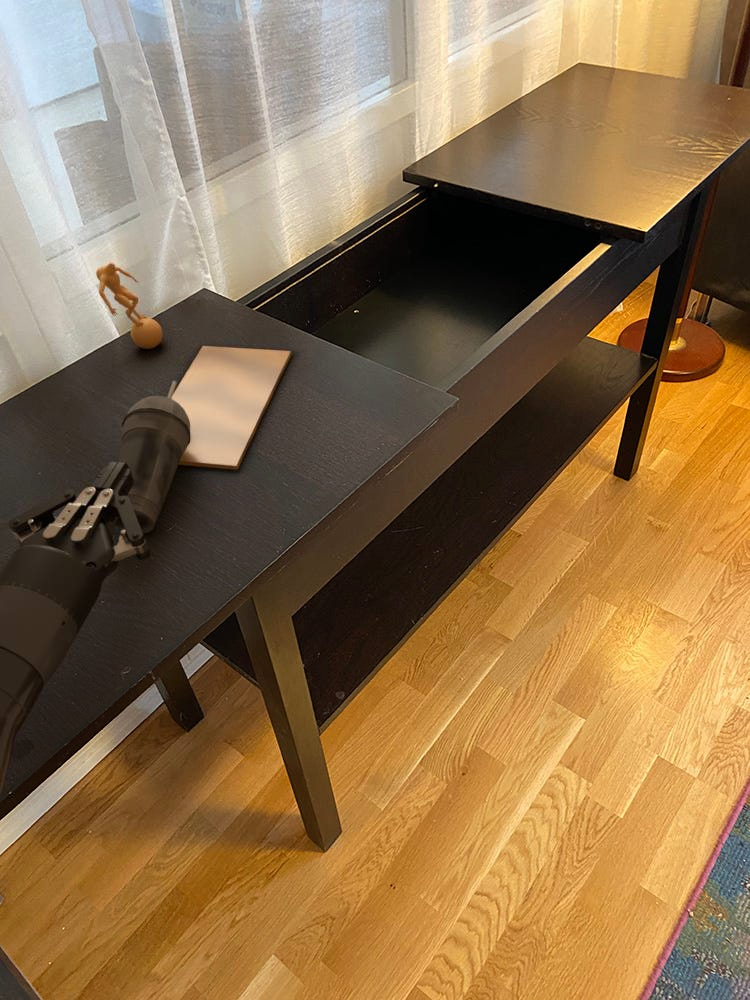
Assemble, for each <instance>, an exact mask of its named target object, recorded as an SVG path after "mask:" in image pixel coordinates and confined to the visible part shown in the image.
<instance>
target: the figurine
mask: <svg viewBox="0 0 750 1000" xmlns="http://www.w3.org/2000/svg"><path fill="white" fill-rule="evenodd" d="M118 272H119V273H120V274H122V275H123V276H126V277H128V278H130V279H132V280H133V281H134V282H135V283H137V284H138V283H139V281H138V280H137V278H135V277H134V276H133V275H131V274H130V273H129V272H127V271H125V270H123V269H122V268H121V267H119V266H116V264H115V263H114V262H109V263H108V264H107V265H104V266H100V267H98V268H97V270H96V272H95V275H96V278H97V279H98V281H99V288H98V294H99V296H100V297H101V299H102V300H103V302H104V303H105V305H106V307H108V310H109V313H110V314H111V315H112V316H113V317H115V316H116V317H117V315H118V313H117V309H116V308H114V307H112V305H111V302H110V301H109V299H108V298H107V295H106V294H105V288H108V289H109V290H110V291H111V293H112V294H113V299H114V301H115V302H116V303H118V304H119V305H121V306H123V308H126V310H125V315H126V316H127V318H128V319H129V320H130V321H131V322H132V323H133V324H132V326H131V328H130V337H131V339H132V341H133V343H134V344H135V345H136V346H138V347H139V348H141V349H145V350H151V349H154V348H156V347H158V346H159V345H160V343H161V342H162V339H163V329H162V326H161V325H160V323H158V321H156V320H155V319H153V318H150V317H147V316H146V315H143V314H140V313H139V312H138V311H137V310H136V309H135V308H136V307H137V305H138V303H139V298H138V296H137V295H135V294H133V293H132V292H131V291H130V290H128V288H127V287H126V286H125V285H123V284H122V285H121V277H120V275H119V273H118ZM131 301H132V302H131ZM132 314H134V316H135V317H137V319H136V318H135V317H134V316H132Z"/></svg>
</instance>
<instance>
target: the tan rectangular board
mask: <svg viewBox="0 0 750 1000" xmlns="http://www.w3.org/2000/svg"><path fill="white" fill-rule="evenodd" d="M291 357H292V351H291V350H280V349H279V350H278V349H263V348H246V347H245V348H244V347H229V346H211V345H202V346H201V348H200V350H199V351H198V353H197V355H196V357H194V360H193V361H192V363H191V364H190V366H189V367H188V369H187V371H186V372H185V374H184V375H183V377H182V379H181V381H180V382H179V383H178V386H176V388H175V390H174V393H173V396H172V399H173V400H174V401H176V402H177V403H179V404H180V405H181V406H182V408H183V409H184V410H185V412H186V414H187V416H188V418H189V421H190V443H189V445H188V446H187V448H186V450H185V452H184V454H183V456H182V457H181V459H180V461H179V464H178V466H179V465H180V466H190V467H201V468H212V469H221V470H223V469H224V470H235V471H237V470H238V469H239V468H240V465H241V463H242V461H243V459H244V457H245V454H246V452H247V451H248V449H249V446H250V445H251V442H252V440H253V438H254V435H255V434H256V431H257V429H258V427H259V425H260V423H261V421H262V419H263V416H264V414H265V412H266V410H267V408H268V406H269V405H270V402H271V399H272V397H273V396H274V393H275V391H276V388H277V386H278V385H279V382H280V380H281V379H282V376H283V373H284V372H285V369H286V367H287V366H288V363H289V362H290V359H291Z"/></svg>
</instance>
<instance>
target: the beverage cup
mask: <svg viewBox="0 0 750 1000" xmlns="http://www.w3.org/2000/svg"><path fill="white" fill-rule="evenodd" d="M177 383H178V382H177V380H172V382H171V385H170V389H169V391H168V394H167V396H163V395H151V396H147V397H144V398H141V399H139V400H138V401H137V402H136V403H134V404H133V405H132V407H130V409H129V410H128V412H127V414H126V415H125V416H124V418H123V420H122V422H121V445H120V450H119V455H118V460H117V462H120V463H127V464H128V466H129V469H130V470H131V473H132V476H133V478H134V485H133V486H132V488H131V490H130V491H129V493H128V495H127V497H128V498H129V500H130V503H131V505H132V508H133V510H134V513H135V515H136V518H137V520H138V523H139V525H140V528H141V530H142V533H143V534H147V533H149V532H151V531H153V529H154V528H155V524H156V522H157V520H158V518H159V516H160V514H161V512H162V509H163V506H164V504H165V502H166V498H167V496H168V493H169V491H170V489H171V488H170V487H171V485H172V481H173V480H174V477H175V474H176V472H177V469H178V466H179V465H178V464H179V461H180V459H181V457H182V456H183V454H184V452H185V450H186V448H187V446H188V445H189V443H190V421H189V418H188V416H187V414H186V412H185V410H184V409H183V408H182V406H181V405H180V404H179V403H177V402H176V401H174V400H173V399H172V396H173V394H174V392H175V390H176V388H177ZM114 528H116V529H118V530H120V531H121V530H125V528H124V525H123V522H122V520H121V519H120V518H118V519H117V521H116V523H115V526H114Z"/></svg>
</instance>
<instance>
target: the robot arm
mask: <svg viewBox="0 0 750 1000" xmlns="http://www.w3.org/2000/svg"><path fill="white" fill-rule="evenodd" d="M133 485H134V478H133V476H132V473H131V470H130V469H129V466H128V464H127V463H120V462H118V461H110V462H109V463H108V465H107V466H105V467H103V468H102V469H100V472H99V473H98V474H97V476H96V477H95V479H94V480H93V482H92V484H91V485H90V486H88V487H84V489H83V490H82V491H81V492H78V493H75V491H74V490H72V489H66V490H64V491H62V492H60V493H58V494H57V495H55V496H52V497H51V498H49V499H47V500H45V501H42V502H41V503H39V504H37V505H35V506H34V507H32V508H30V509H28V510H26V511H24V512H21V513H20V514H18V515H16V516H15V517H13V518H11V519H10V520H9V521H8V526H9V528H10V530H11V533H12V534H13V536H14V538H15V539H16V540H17V542H18V544H19V545H18V548H17V549H15V550H14V551H13V552H12V553H11V554H10V556H9V557H8V559H7V560H6V562H5V563H4V565H3V566H2V567H1V569H0V796H1V795H2V791H3V788H4V784H5V781H6V777H7V773H8V770H9V767H10V762H11V758H12V755H13V750H14V745H15V741H16V737H17V735H18V733H19V731H20V730H21V728H22V727H23V725H24V723H25V722H26V719H27V718H28V717H29V714H30V713H31V711H32V709H33V708H34V706H35V704H36V702H37V700H38V698H39V697H40V695H41V693H42V691H43V690H44V688H45V686H46V685H47V683H48V682H49V681H50V679H51V678H52V677H53V675H54V674H55V672H57V670H58V669H59V667H60V666H61V664H62V663H63V661H64V659H65V657H66V656H67V654H68V652H69V650H70V648H71V647H72V645H73V643H74V642H75V640H76V638H77V636H78V634H79V632H80V631H81V629H82V627H83V625H84V623H85V622H86V620H87V618H88V617H89V614H90V612H91V611H92V609H93V608H94V606H95V604H96V602H97V601H98V598H99V596H100V593H101V590H102V587H103V583H104V581H105V579H106V578H107V577H108V576H109V575H111V574H112V573H113V572H115V570H117V568H118V567H119V562H121V561H123V560H126V559H129V558H131V557H134V556H135V557H136V559H137V560H139V561H145V560H147V559H148V558H149V557H150V556H151V550H150V548H149V545H148V543H147V540H146V538H145V535H144V533H142V530H141V528H140V525H139V523H138V520H137V518H136V515H135V513H134V510H133V508H132V505H131V503H130V500H129V498H128V497H127V495H128V493H129V491H130V490H131V488H132V486H133ZM63 507H64V508H63ZM61 508H63V509H62V511H61V512H59V513H57V514H56V515H54V512H55V511H57V510H59V509H61ZM118 518H120V519H121V520H122V522H123V525H124V528H125V530H120V531H119V532H120V535H118V542H117V544H114V543H115V542H114V539H113V537H114V534H115V523H116V521H117V519H118Z"/></svg>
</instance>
